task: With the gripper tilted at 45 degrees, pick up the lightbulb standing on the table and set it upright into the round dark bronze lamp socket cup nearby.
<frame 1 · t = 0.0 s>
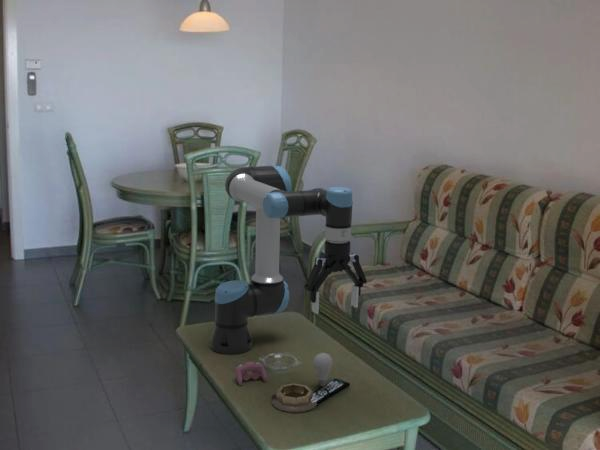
hand: (335, 309, 207), 28 cm above the table, tool pointing down, fingers open, 13 cm apart
lightbulb: (322, 386, 219), on the table
socket: (294, 401, 208), on the table
video game controller: (250, 381, 222), on the table
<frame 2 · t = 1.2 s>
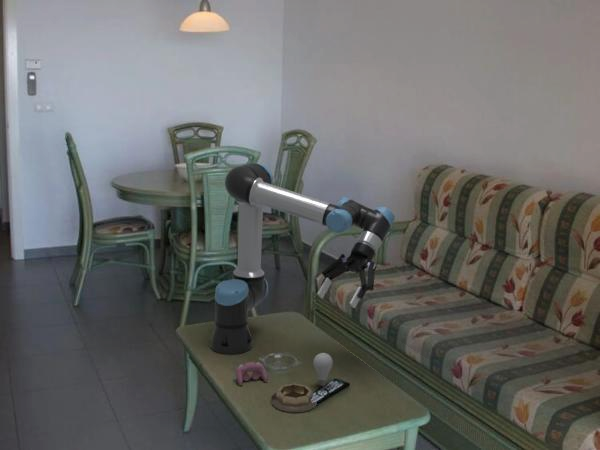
hand: (335, 300, 223), 25 cm above the table, tool tilted 45°, fingers open, 13 cm apart
nothing on the table moved.
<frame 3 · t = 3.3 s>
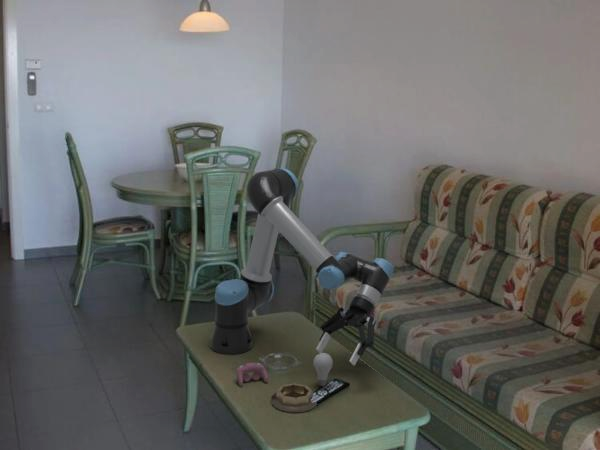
hand: (334, 357, 219), 9 cm above the table, tool tilted 45°, fingers open, 13 cm apart
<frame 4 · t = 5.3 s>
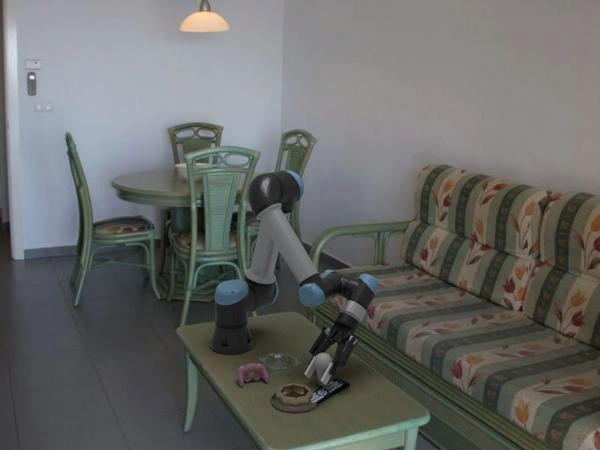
hand: (315, 379, 216), 3 cm above the table, tool tilted 45°, fingers closed on lightbulb, 6 cm apart
lightbulb: (322, 386, 219), on the table, touching gripper
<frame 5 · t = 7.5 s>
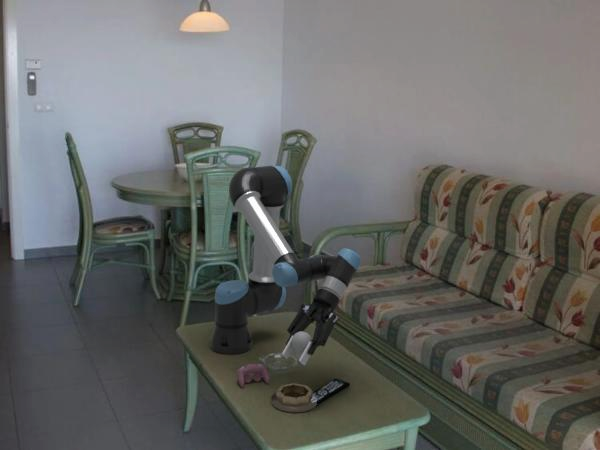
hand: (293, 359, 203), 14 cm above the table, tool tilted 45°, fingers closed on lightbulb, 6 cm apart
lightbulb: (301, 367, 207), point 11 cm above the table, touching gripper
when the fingers open (6 cm above the table, at t = 9.9 s): lightbulb drops 2 cm, resting on socket.
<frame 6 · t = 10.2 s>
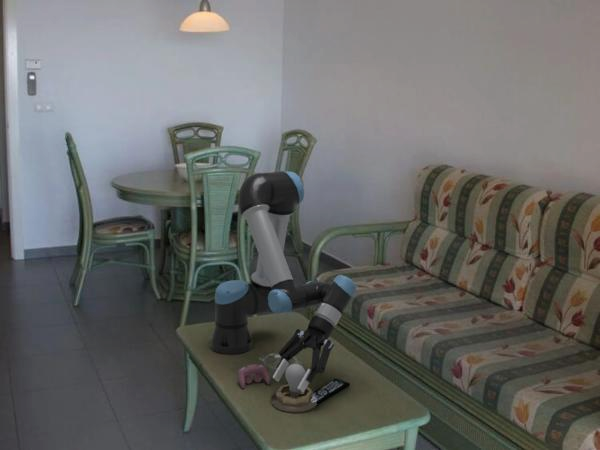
hand: (287, 384, 204), 7 cm above the table, tool tilted 45°, fingers open, 9 cm apart
lightbulb: (294, 399, 208), point 1 cm above the table, touching socket
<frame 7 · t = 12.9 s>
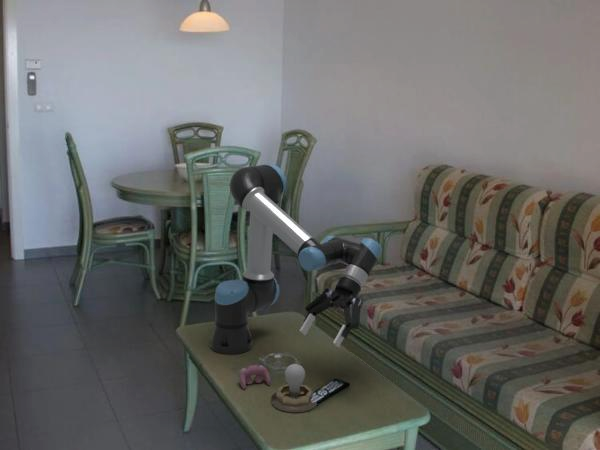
hand: (318, 339, 212), 17 cm above the table, tool tilted 45°, fingers open, 13 cm apart
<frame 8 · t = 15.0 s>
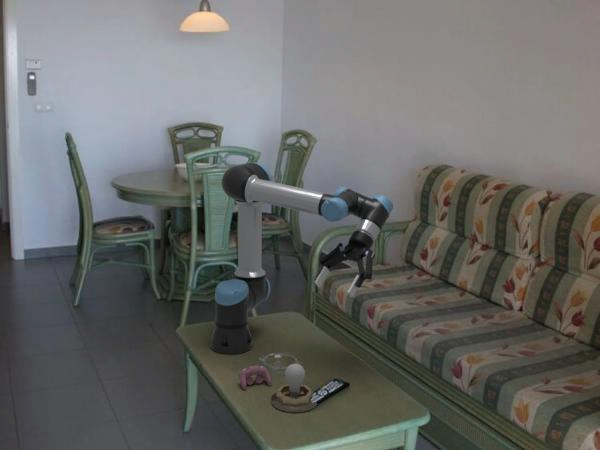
hand: (333, 289, 220), 30 cm above the table, tool tilted 45°, fingers open, 13 cm apart
at the end: lightbulb 0.2 cm off-centre on the socket, point 0.8 cm above the socket's base; lightbulb tilted 1°; the gripper is holding nothing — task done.
